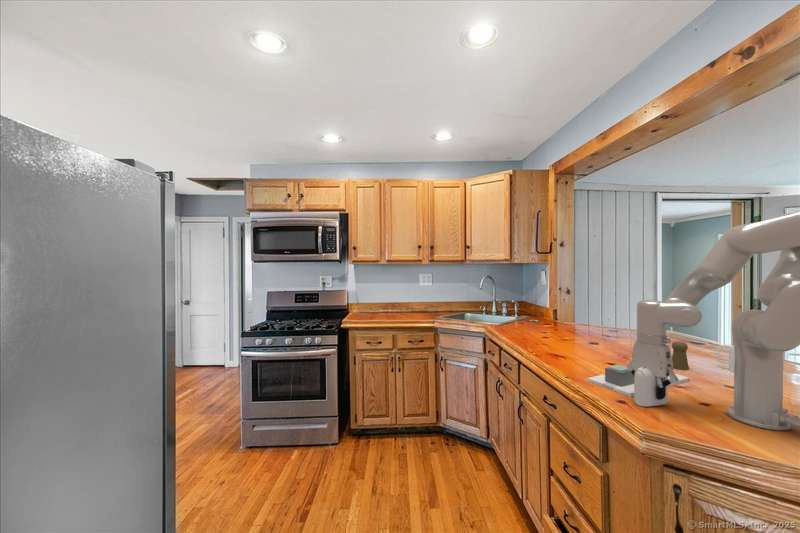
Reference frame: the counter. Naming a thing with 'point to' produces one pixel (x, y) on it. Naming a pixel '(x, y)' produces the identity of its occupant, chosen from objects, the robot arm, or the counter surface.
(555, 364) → the counter surface
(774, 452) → the counter surface
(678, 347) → the olive green bristly cone
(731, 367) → the cup
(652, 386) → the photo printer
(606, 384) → the mounting board
